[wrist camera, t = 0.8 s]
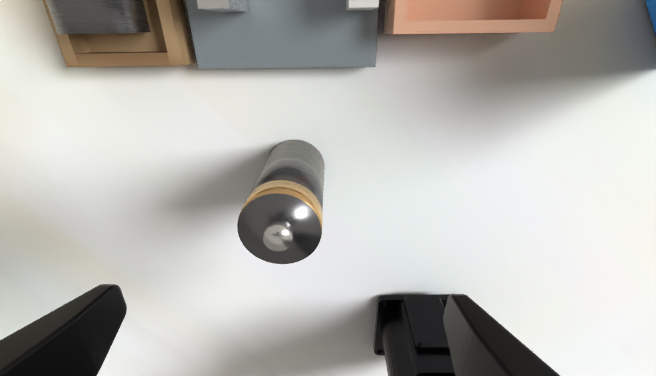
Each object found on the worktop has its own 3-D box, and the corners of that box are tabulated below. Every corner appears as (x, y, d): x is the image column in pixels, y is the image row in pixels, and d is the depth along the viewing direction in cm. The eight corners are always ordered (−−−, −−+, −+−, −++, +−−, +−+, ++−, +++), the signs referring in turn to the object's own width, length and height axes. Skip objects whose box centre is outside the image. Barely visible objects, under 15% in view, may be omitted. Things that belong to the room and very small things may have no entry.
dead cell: (325, 192, 21) (322, 273, 14) (269, 193, 21) (239, 273, 14) (324, 139, 19) (320, 200, 12) (263, 139, 19) (226, 201, 12)
